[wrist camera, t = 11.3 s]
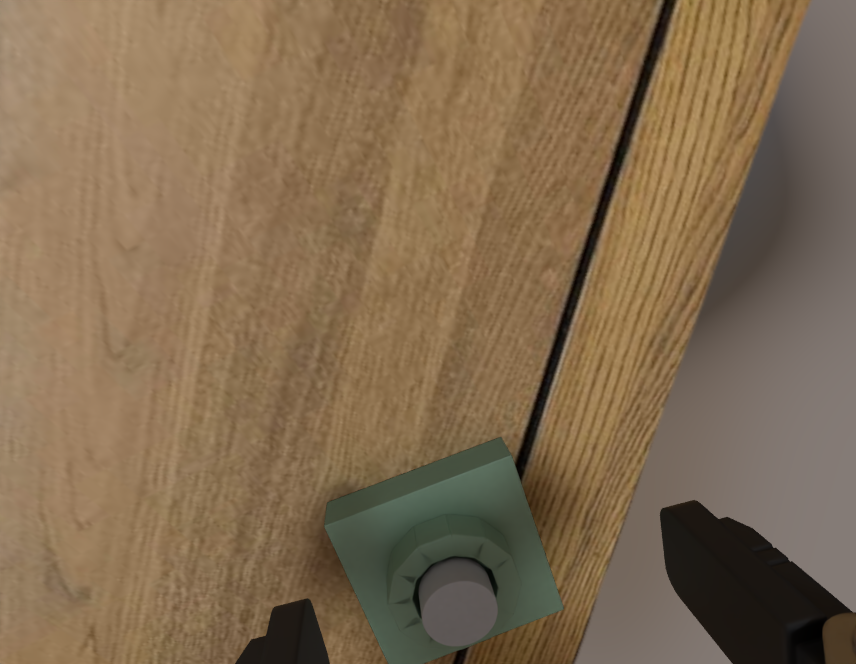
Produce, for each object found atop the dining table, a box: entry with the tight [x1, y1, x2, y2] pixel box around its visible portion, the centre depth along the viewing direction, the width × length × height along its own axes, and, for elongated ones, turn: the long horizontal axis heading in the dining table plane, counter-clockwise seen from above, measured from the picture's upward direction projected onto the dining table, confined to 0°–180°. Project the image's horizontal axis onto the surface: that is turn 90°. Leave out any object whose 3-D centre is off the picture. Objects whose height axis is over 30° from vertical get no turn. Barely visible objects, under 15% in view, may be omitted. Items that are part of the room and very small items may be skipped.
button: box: [419, 557, 498, 646], centre depth 26 cm, size 4×4×2 cm
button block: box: [324, 437, 564, 664], centre depth 28 cm, size 10×10×4 cm
